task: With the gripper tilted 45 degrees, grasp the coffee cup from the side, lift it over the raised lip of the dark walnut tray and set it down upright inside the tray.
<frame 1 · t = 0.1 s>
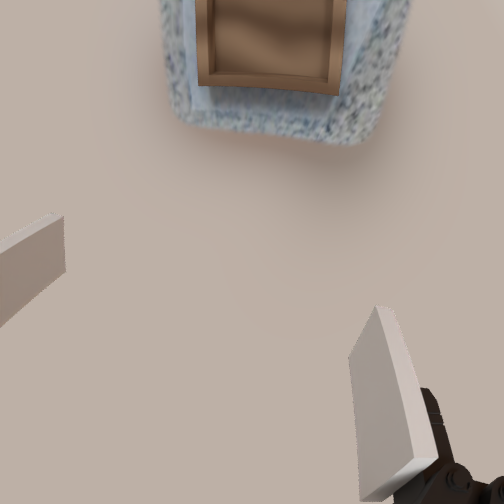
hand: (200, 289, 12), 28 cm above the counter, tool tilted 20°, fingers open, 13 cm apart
walnut tray: (272, 20, 26), on the counter
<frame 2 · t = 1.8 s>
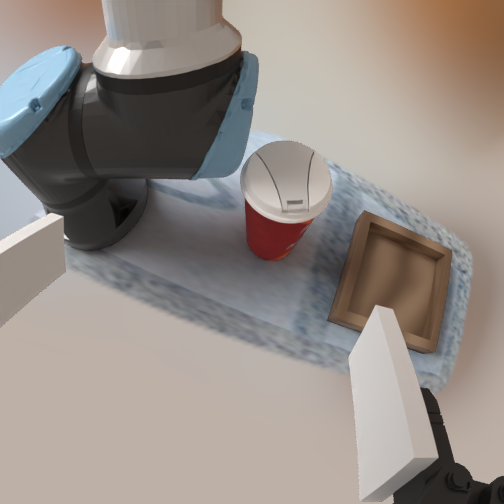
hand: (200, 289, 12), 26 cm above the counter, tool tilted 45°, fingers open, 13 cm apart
walnut tray: (391, 286, 39), on the counter
coffee cup: (270, 238, 41), on the counter
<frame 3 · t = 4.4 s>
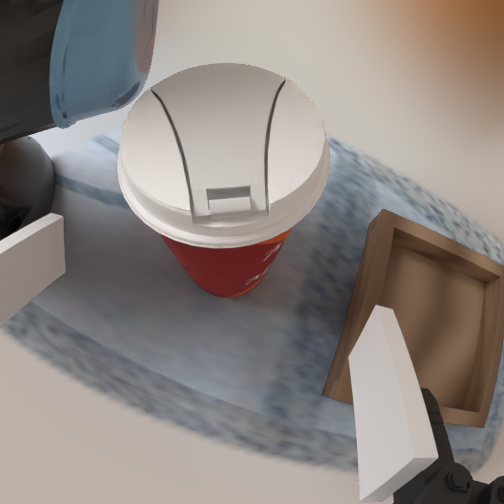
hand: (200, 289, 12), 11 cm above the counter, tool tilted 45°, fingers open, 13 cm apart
walnut tray: (424, 329, 23), on the counter
coffee cup: (227, 259, 25), on the counter
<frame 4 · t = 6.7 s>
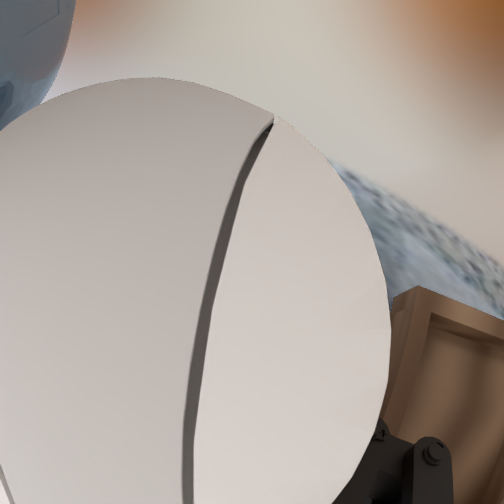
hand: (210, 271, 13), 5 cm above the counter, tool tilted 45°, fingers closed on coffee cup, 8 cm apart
walnut tray: (450, 426, 16), on the counter
coffee cup: (199, 353, 17), on the counter, touching gripper
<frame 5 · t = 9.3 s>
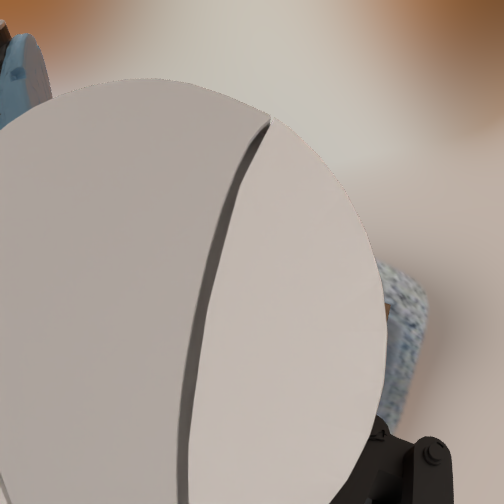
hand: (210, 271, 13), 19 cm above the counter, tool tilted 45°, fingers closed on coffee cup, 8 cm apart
coffee cup: (198, 353, 17), point 13 cm above the counter, touching gripper
when the fingers open (7 cm above the counter, at t = 12.2 s): coffee cup drops 1 cm, resting on walnut tray.
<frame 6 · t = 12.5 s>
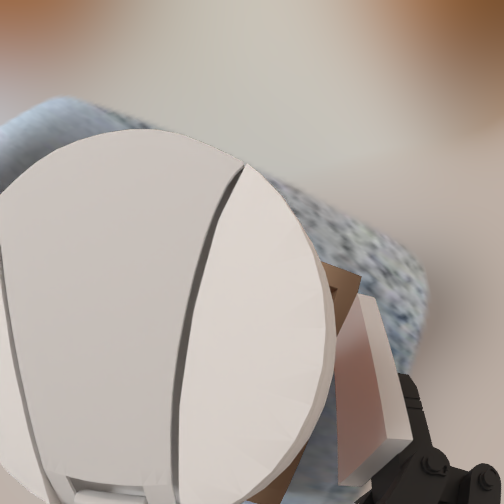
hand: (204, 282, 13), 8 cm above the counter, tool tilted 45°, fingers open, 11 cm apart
walnut tray: (203, 354, 19), on the counter
coffee cup: (202, 355, 19), point 1 cm above the counter, touching walnut tray
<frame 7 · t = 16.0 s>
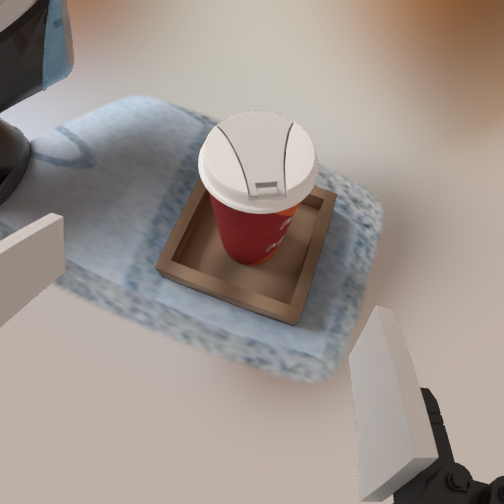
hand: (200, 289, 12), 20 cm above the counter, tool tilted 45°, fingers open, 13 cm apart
walnut tray: (250, 239, 35), on the counter
coffee cup: (250, 238, 34), resting on walnut tray
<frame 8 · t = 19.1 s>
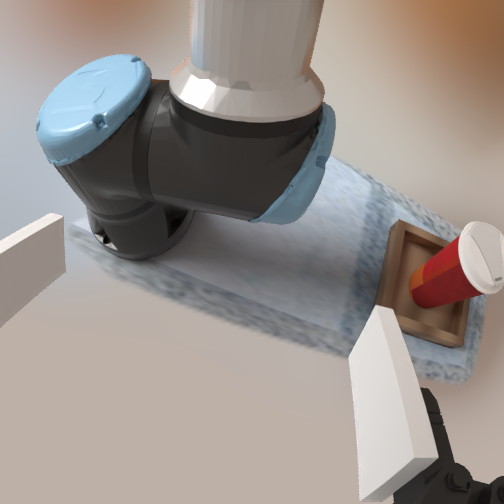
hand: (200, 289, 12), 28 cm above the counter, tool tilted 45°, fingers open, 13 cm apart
walnut tray: (422, 288, 42), on the counter
coffee cup: (424, 288, 41), resting on walnut tray
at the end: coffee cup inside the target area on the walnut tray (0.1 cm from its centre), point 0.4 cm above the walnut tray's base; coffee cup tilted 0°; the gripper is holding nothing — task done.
